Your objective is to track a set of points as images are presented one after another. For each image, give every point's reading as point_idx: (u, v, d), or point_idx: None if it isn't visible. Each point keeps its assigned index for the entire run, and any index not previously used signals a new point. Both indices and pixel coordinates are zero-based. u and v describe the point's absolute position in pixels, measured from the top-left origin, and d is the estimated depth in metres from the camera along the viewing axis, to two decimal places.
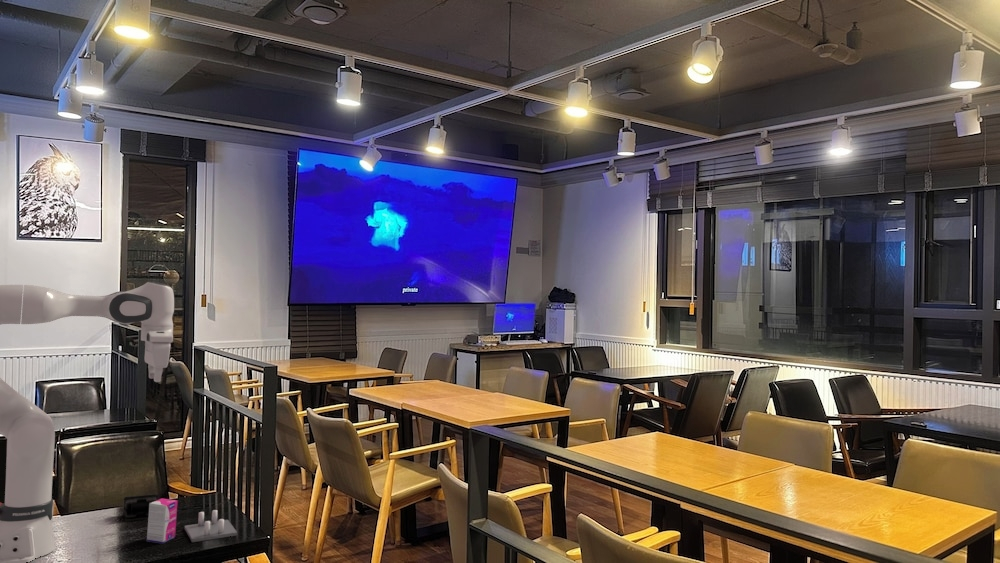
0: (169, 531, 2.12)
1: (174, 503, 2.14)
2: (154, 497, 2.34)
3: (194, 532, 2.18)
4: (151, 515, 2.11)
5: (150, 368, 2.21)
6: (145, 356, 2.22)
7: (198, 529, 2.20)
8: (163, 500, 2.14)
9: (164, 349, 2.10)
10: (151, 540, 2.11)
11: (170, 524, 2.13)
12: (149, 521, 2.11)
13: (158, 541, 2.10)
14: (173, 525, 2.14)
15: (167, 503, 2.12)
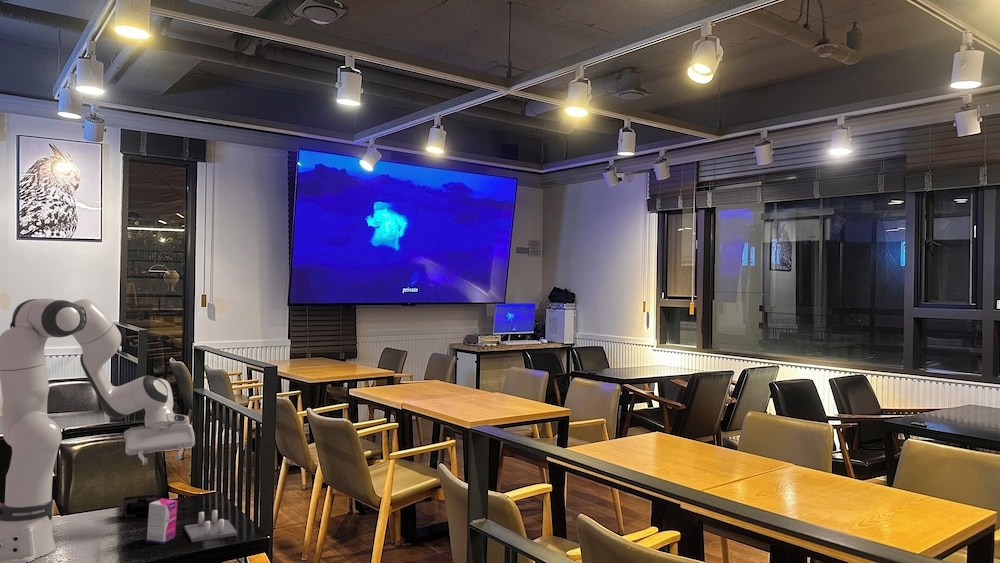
0: (169, 531, 2.12)
1: (174, 503, 2.14)
2: (154, 497, 2.34)
3: (194, 532, 2.18)
4: (151, 515, 2.11)
5: None
6: (134, 443, 2.24)
7: (198, 529, 2.20)
8: (163, 500, 2.14)
9: None
10: (151, 540, 2.11)
11: (170, 524, 2.13)
12: (149, 521, 2.11)
13: (158, 541, 2.10)
14: (173, 525, 2.14)
15: (167, 503, 2.12)
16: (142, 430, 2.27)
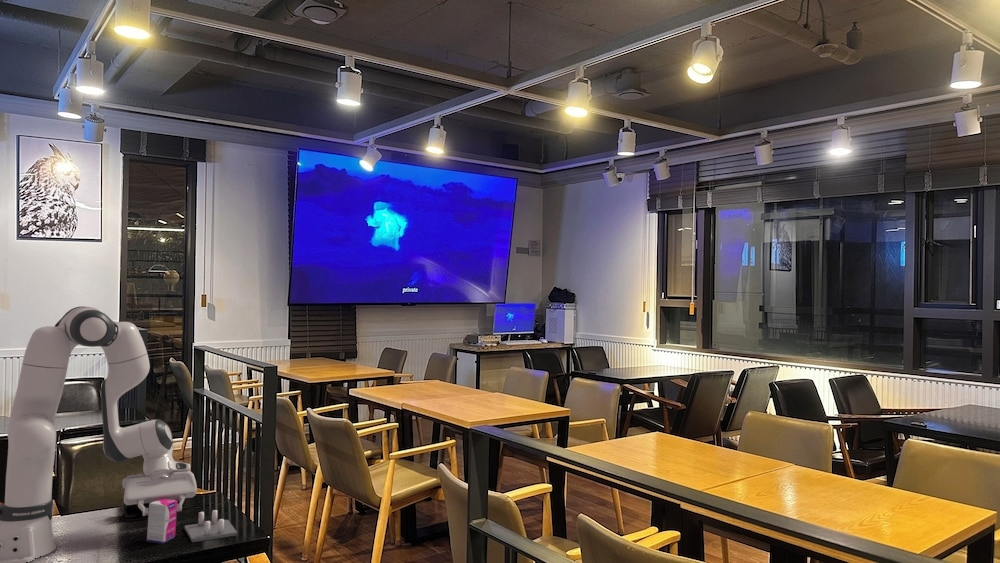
0: (169, 531, 2.12)
1: (174, 503, 2.14)
2: None
3: (194, 532, 2.18)
4: (151, 515, 2.11)
5: None
6: (134, 493, 2.13)
7: (198, 529, 2.20)
8: (163, 500, 2.14)
9: None
10: (151, 540, 2.11)
11: (170, 524, 2.13)
12: (149, 521, 2.11)
13: (158, 541, 2.10)
14: (173, 525, 2.14)
15: (167, 503, 2.12)
16: (142, 478, 2.17)
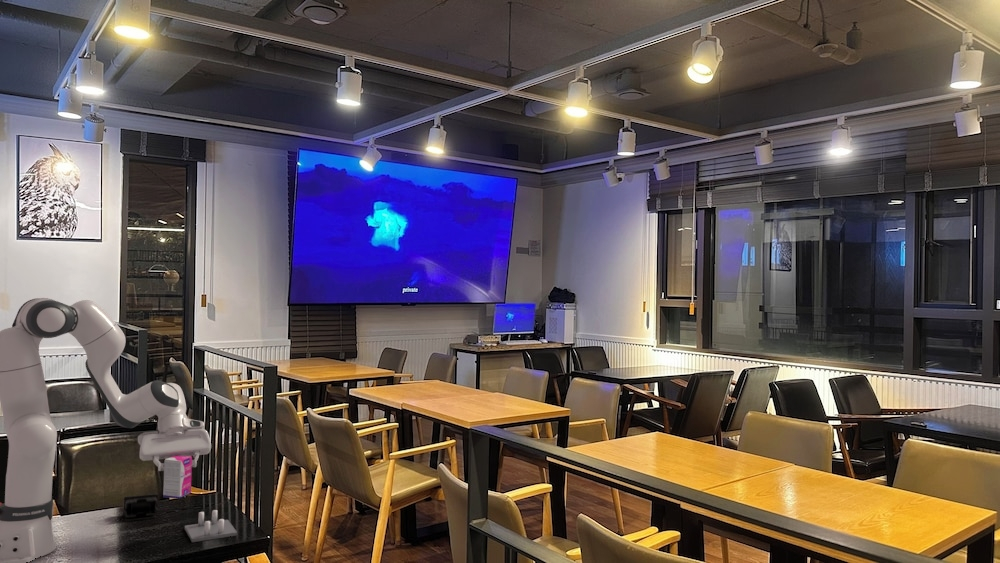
0: (184, 487, 2.15)
1: (189, 459, 2.16)
2: (154, 497, 2.34)
3: (194, 532, 2.18)
4: (166, 471, 2.13)
5: None
6: (149, 448, 2.15)
7: (198, 529, 2.20)
8: (178, 457, 2.17)
9: None
10: (167, 495, 2.13)
11: (185, 480, 2.15)
12: (165, 477, 2.13)
13: (174, 496, 2.13)
14: (188, 481, 2.17)
15: (182, 459, 2.14)
16: (157, 435, 2.19)
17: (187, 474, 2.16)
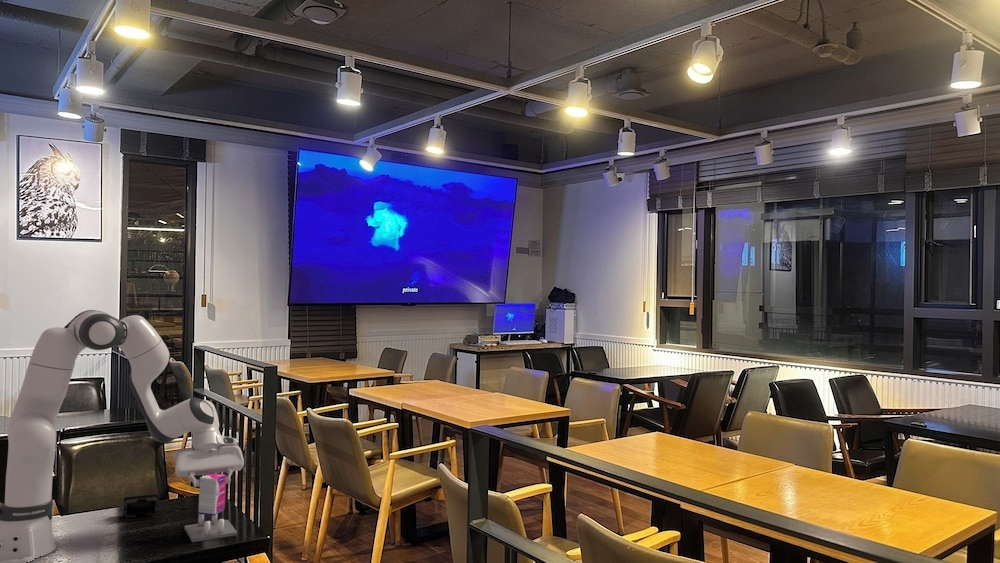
0: (219, 504, 2.20)
1: (223, 477, 2.22)
2: (154, 497, 2.34)
3: (194, 532, 2.18)
4: (202, 489, 2.19)
5: None
6: (185, 465, 2.20)
7: (198, 529, 2.20)
8: (212, 474, 2.22)
9: None
10: (202, 513, 2.19)
11: (220, 497, 2.20)
12: (200, 494, 2.19)
13: (209, 513, 2.18)
14: (223, 498, 2.22)
15: (217, 477, 2.20)
16: (192, 452, 2.24)
17: (221, 492, 2.21)
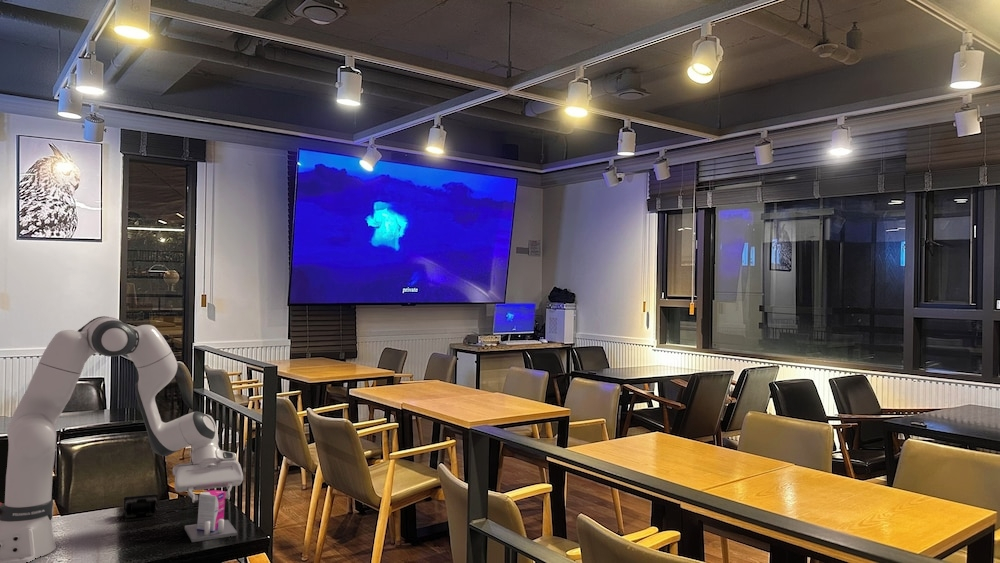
0: None
1: (223, 494, 2.22)
2: (154, 497, 2.34)
3: (194, 532, 2.18)
4: (201, 505, 2.19)
5: None
6: (184, 480, 2.20)
7: None
8: (212, 491, 2.22)
9: None
10: (201, 529, 2.18)
11: (219, 514, 2.20)
12: (199, 511, 2.19)
13: None
14: (222, 515, 2.22)
15: (216, 494, 2.20)
16: (191, 467, 2.24)
17: (220, 508, 2.21)
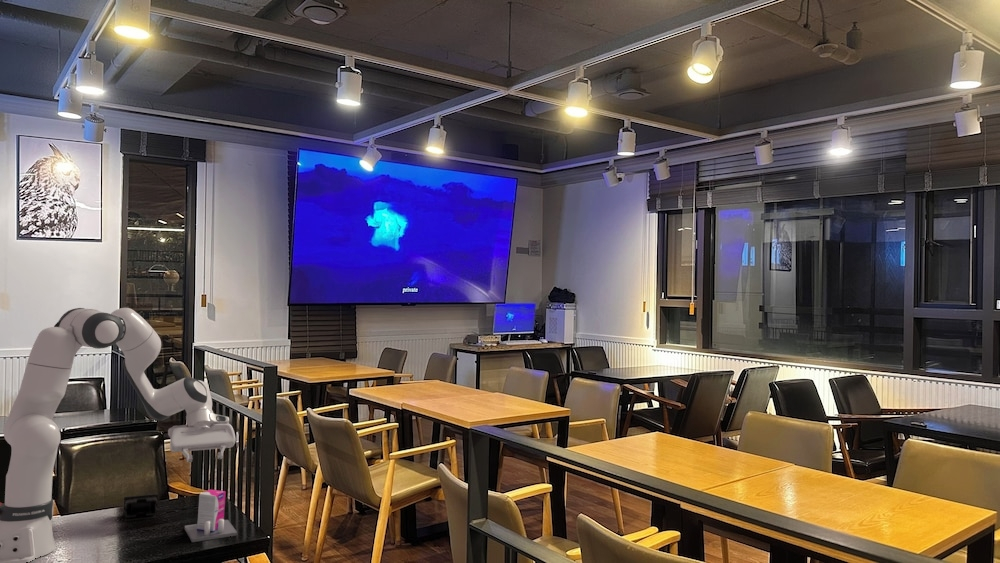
0: None
1: (223, 494, 2.22)
2: (154, 497, 2.34)
3: (194, 532, 2.18)
4: (201, 505, 2.19)
5: None
6: (179, 441, 2.31)
7: None
8: (212, 491, 2.22)
9: None
10: (201, 529, 2.18)
11: (219, 514, 2.20)
12: (199, 511, 2.19)
13: None
14: (222, 515, 2.22)
15: (216, 494, 2.20)
16: (186, 428, 2.35)
17: (220, 508, 2.21)
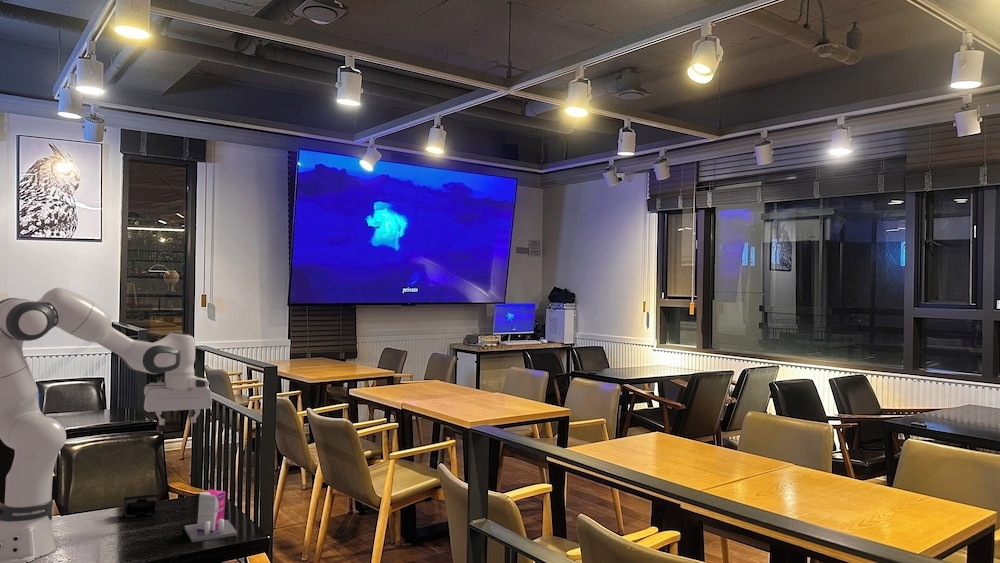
0: None
1: (223, 494, 2.22)
2: (154, 497, 2.34)
3: (194, 532, 2.18)
4: (201, 505, 2.19)
5: (159, 415, 2.28)
6: (154, 405, 2.26)
7: None
8: (212, 491, 2.22)
9: None
10: (201, 529, 2.18)
11: (219, 514, 2.20)
12: (199, 511, 2.19)
13: None
14: (222, 515, 2.22)
15: (216, 494, 2.20)
16: (162, 391, 2.28)
17: (220, 508, 2.21)
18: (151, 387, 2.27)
